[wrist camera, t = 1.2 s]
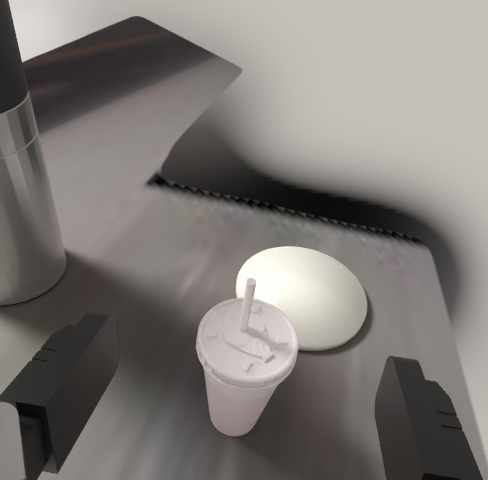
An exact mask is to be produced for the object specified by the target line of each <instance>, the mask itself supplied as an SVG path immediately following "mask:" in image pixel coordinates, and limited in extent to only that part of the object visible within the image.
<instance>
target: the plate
mask: <svg viewBox="0 0 488 480" xmlns="http://www.w3.org/2000/svg"><path fill="white" fill-rule="evenodd" d="M248 278H254V279H256V287H255V293H254V298H253V299H258V300H262V301H265V302H267V303H270V304H272V305H274V306H275V307H277V308H278V309H280V310H281V311H282V312H283V313H285V314H286V315H287V317H288V318H289V319H290V320H291V322H292V323H293V325H294V327H295V329H296V331H297V335H298V340H299V348H298V350H303V351H323V350H329V349H333V348H336V347H339V346H341V345H343V344H345V343H347V342H348V341H349V340H351V339H352V338H353V337H354V336H355V335H356V334H357V333H358V331H359V330H360V328H361V326H362V324H363V322H364V320H365V317H366V313H367V299H366V295H365V292H364V289H363V288H362V286H361V284H360V282H359V281H358V279H357V278H356V277H355V276H354V274H353V273H352V272H351V271H350V270H349V269H348V268H346V267H345V266H344V265H343V264H341V263H340V262H338V261H337V260H335V259H333V258H332V257H330V256H328V255H325V254H323V253H321V252H318V251H315V250H311V249H307V248H301V247H290V246H288V247H276V248H271V249H267V250H264V251H262V252H260V253H258V254H256V255H254V256H253V257H251V258H250V259H249V260H248V261H247V262H246V263H245V264H244V265H243V266H242V268H241V270H240V272H239V274H238V277H237V283H236V298H244V294H245V288H246V282H247V279H248Z"/></svg>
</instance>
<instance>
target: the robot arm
mask: <svg viewBox="0 0 488 480" xmlns="http://www.w3.org/2000/svg"><path fill="white" fill-rule="evenodd" d="M66 264H67V261H66V255H65V251H64V246H63V242H62V237H61V233H60V227H59V223H58V218H57V214H56V209H55V205H54V200H53V196H52V191H51V187H50V183H49V178H48V174H47V169H46V165H45V160H44V156H43V151H42V147H41V142H40V138H39V133H38V129H37V125H36V121H35V116H34V112H33V107H32V103H31V98H30V94H29V91H28V85H27V81H26V77H25V73H24V69H23V64H22V61H21V56H20V51H19V47H18V42H17V38H16V33H15V29H14V25H13V20H12V16H11V11H10V6H9V1H8V0H0V305H9V304H16V303H20V302H24V301H27V300H30V299H32V298H35V297H37V296H39V295H41V294H43V293H44V292H46V291H48V290H49V289H50V288H51V287H53V286H54V285H55V284H56V283H57V282H58V281H59V279H60V278H61V277H62V275H63V273H64V271H65V269H66ZM118 360H119V347H118V332H117V319H116V316H115V315H114V314H110V313H103V312H96V311H88V312H87V313H86V314H85V315H84V316H83V318H82V319H81V320H80V321H79V323H78V324H77V325H76V326H72V325H67V326H66V327H64V328H62V329H61V330H59V331H58V332H56V333H54V334H53V335H52V336H51V337H50V338H49V339H48V340H47V341H46V343H45V344H44V345H43V346H42V347H41V350H39V351H38V352H37V353H36V354H35V355H34V357H33V358H32V361H29V362H28V364H27V365H26V366H25V367H24V368H23V369H22V371H21V372H20V373H19V374H18V375H17V376H16V378H15V379H14V380H13V381H12V382H11V383H10V385H9V386H8V387H7V388H6V389H5V390H4V392H3V393H2V394H1V395H0V480H37V479H38V477H39V475H40V474H41V472H42V471H45V472H50V473H56V474H58V472H59V470H60V469H61V467H62V465H63V463H64V462H65V460H66V458H67V456H68V455H69V453H70V451H71V449H72V448H73V446H74V444H75V442H76V441H77V439H78V437H79V435H80V434H81V432H82V430H83V428H84V427H85V425H86V423H87V421H88V420H89V418H90V416H91V414H92V413H93V411H94V409H95V407H96V406H97V404H98V402H99V400H100V399H101V397H102V395H103V393H104V392H105V390H106V388H107V386H108V385H109V383H110V381H111V379H112V378H113V376H114V374H115V371H116V369H117V365H118ZM456 415H457V414H456V412H455V409H454V407H453V404H452V402H451V399H450V397H449V396H448V395H447V394H446V392H445V391H444V390H443V389H442V388H441V387H440V386H439V384H438V383H437V382H435V381H428V380H425V378H424V375H423V372H422V369H421V366H420V364H419V362H418V361H417V360H415V359H408V358H401V357H394V356H389V357H388V358H387V361H386V364H385V367H384V371H383V374H382V377H381V381H380V384H379V387H378V391H377V394H376V399H375V419H376V425H377V430H378V436H379V441H380V447H381V452H382V457H383V463H384V468H385V474H386V479H387V480H483V479H482V476H481V474H480V471H479V469H478V466H477V464H476V461H475V459H474V456H473V454H472V451H471V449H470V446H469V444H468V441H467V439H466V436H465V434H464V432H462V426H461V424H460V421H459V419H458V418H457V417H456Z"/></svg>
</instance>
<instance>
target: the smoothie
mask: <svg viewBox="0 0 488 480" xmlns="http://www.w3.org/2000/svg"><path fill="white" fill-rule="evenodd" d="M255 287H256V279H254V278H248V279H247V282H246V288H245V294H244V298H234V299H229V300H226V301H223V302H221V303H219V304H217V305H215V306H214V307H213V308H211V309H210V310H209V311H208V312H207V313H206V314H205V316H204V317H203V319H202V320H201V322H200V325H199V328H198V335H197V341H196V350H197V354H198V358H199V360H200V362H201V364H202V365H203V368H204V374H205V382H206V390H207V397H208V405H209V413H210V418H211V421H212V423H213V425H214V426H215V428H216V429H217V430H218V431H220V432H221V433H223V434H225V435H228V436H241V435H244V434H246V433H248V432H249V431H250V430H251V429H252V428H253V427H254V425H255V424H256V422H257V420H258V418H259V417H260V415H261V413H262V411H263V410H264V408H265V406H266V404H267V403H268V401H269V399H270V397H271V396H272V394H273V392H274V390H275V389H276V387H277V385H278V384H279V383H281V382H282V381H283V380H284V379H285V378H286V377H287V376H288V375H289V374H290V373H291V371H292V369H293V367H294V365H295V363H296V358H297V353H298V348H299V340H298V335H297V331H296V329H295V327H294V325H293V323H292V322H291V320H290V319H289V318H288V317H287V315H286V314H285V313H283V312H282V311H281V310H280V309H278V308H277V307H275V306H274V305H272V304H270V303H267V302H265V301H262V300H258V299H253V298H254V293H255Z"/></svg>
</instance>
